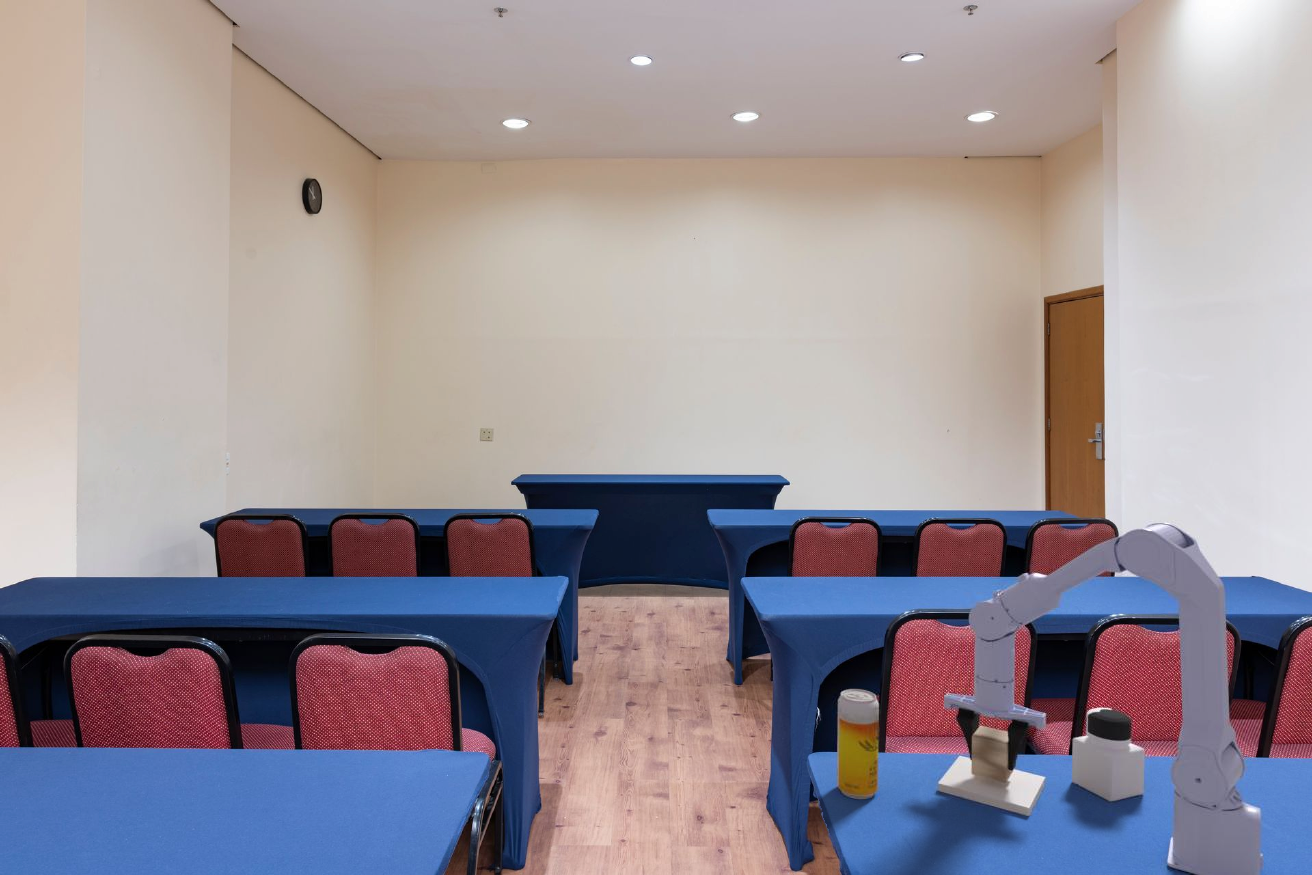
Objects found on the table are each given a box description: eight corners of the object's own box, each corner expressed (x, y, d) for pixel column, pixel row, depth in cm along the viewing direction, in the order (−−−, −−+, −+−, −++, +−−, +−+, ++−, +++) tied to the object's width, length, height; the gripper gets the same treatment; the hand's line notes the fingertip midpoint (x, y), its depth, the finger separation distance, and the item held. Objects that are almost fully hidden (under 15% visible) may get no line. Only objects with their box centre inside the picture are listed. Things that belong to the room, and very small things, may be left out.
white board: (1045, 784, 125) (1045, 776, 125) (1029, 816, 115) (1029, 807, 115) (959, 762, 133) (959, 755, 133) (937, 790, 123) (937, 782, 123)
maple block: (1013, 770, 125) (1014, 732, 124) (1005, 782, 120) (1006, 743, 120) (979, 762, 127) (980, 725, 127) (971, 773, 123) (972, 735, 123)
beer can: (879, 802, 119) (880, 703, 119) (837, 798, 121) (838, 700, 120) (876, 783, 125) (877, 689, 125) (836, 780, 126) (837, 686, 126)
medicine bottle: (1144, 794, 122) (1146, 717, 122) (1111, 802, 120) (1113, 723, 119) (1103, 774, 129) (1105, 701, 128) (1070, 781, 126) (1072, 707, 126)
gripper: (938, 674, 124) (937, 759, 125) (1040, 693, 116) (1038, 785, 116) (951, 662, 130) (950, 744, 131) (1049, 680, 122) (1047, 768, 122)
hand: (992, 762), depth 124 cm, fingers closed on maple block, 5 cm apart
